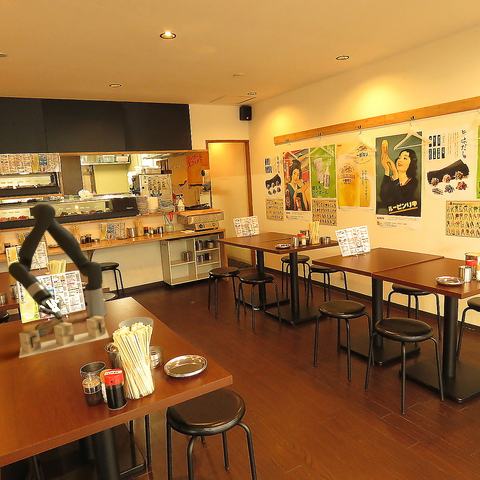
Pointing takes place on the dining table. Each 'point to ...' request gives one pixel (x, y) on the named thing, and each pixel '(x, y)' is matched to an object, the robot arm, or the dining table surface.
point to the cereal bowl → (134, 320)
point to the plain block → (64, 333)
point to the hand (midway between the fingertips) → (61, 318)
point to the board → (53, 346)
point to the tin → (47, 327)
